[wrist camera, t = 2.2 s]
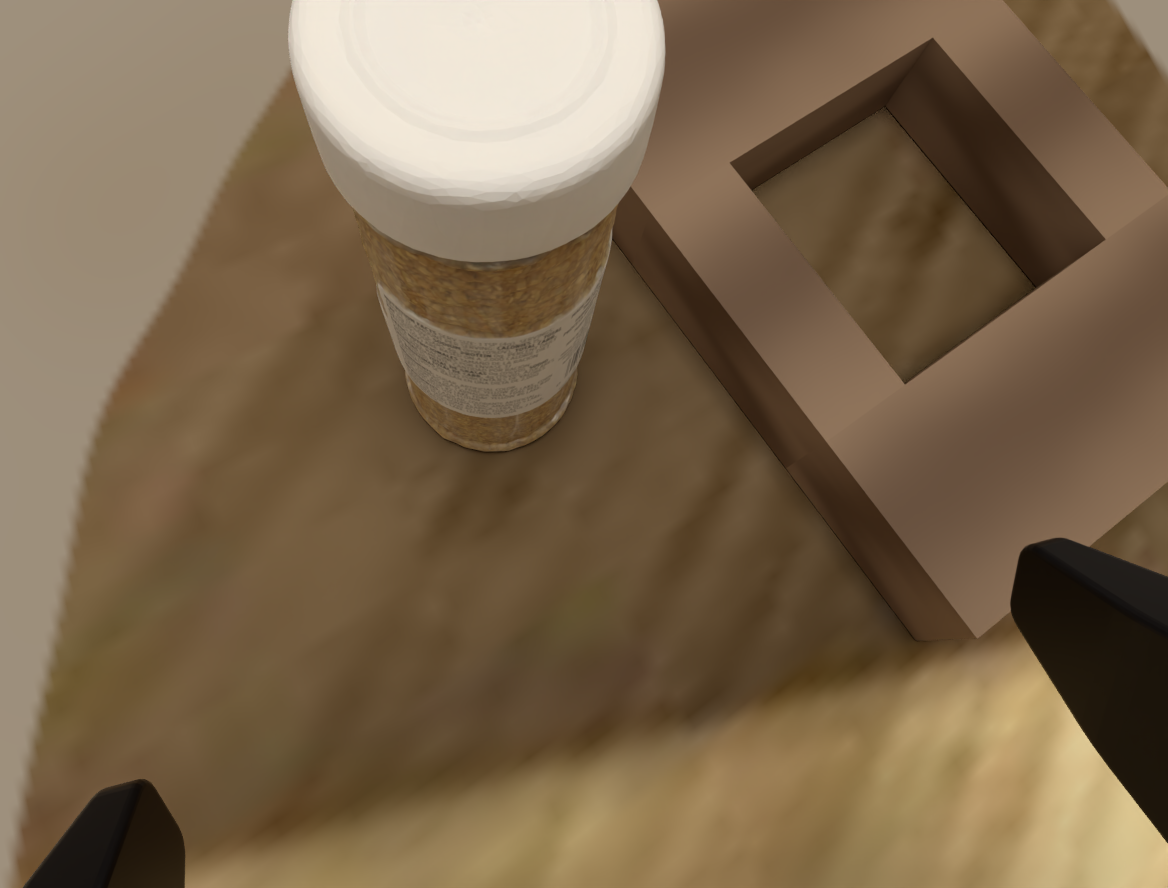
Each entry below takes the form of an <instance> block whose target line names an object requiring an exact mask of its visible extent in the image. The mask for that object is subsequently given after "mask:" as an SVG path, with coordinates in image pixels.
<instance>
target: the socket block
mask: <svg viewBox="0 0 1168 888" xmlns="http://www.w3.org/2000/svg"><path fill="white" fill-rule="evenodd" d="M657 1H658V4H659V7H660V10H661V16H662V19H663V25H664V32H665V68H664V76H663V81H662V87H661V91H660V96H659V100H658V105H657V109H656V114H655V118H654V123H653V127H652V130H651V134H650V137H649V141H648V145H647V148H646V152H645V155H644V158H643V160H642V163H641V166H640V168H639V171H638V174H637V176H636V178H635V179H634V181H633V183H632V185H631V186H630V188H629V190H628V191H627V193H626V194H625V195H624V197H623V198H622V199H621V200H620V202H619V203H618V206H617V210H616V216H615V221H614V224H613V227H612V238H613V240H614V241H615V242H616V244H617V245H618V246H619V248H620V249H621V250H622V252H623V253H624V254H625V256H626V257H627V258H628V260H629V261H630V262H631V264H632V265H633V266H634V268H635V269H636V270H637V272H638V273H639V274H640V276H641V277H642V278H643V280H644V281H645V282H646V284H647V285H648V286H649V288H650V289H651V290H652V292H653V293H654V294H655V295H656V297H657V298H658V299H659V301H660V302H661V303H662V305H663V306H664V307H665V309H666V310H667V311H668V313H669V314H670V315H671V317H672V318H673V319H674V321H675V322H676V323H677V325H678V326H679V327H680V329H681V330H682V331H683V333H684V334H685V335H686V337H687V338H688V339H689V341H690V342H691V343H692V345H693V346H694V347H695V349H696V350H697V351H698V353H699V354H700V355H701V356H702V358H703V359H704V360H705V362H706V363H707V364H708V366H709V367H710V368H711V370H712V371H713V372H714V374H715V375H716V376H717V378H718V379H719V380H720V382H721V383H722V384H723V386H724V387H725V388H726V390H727V391H728V392H729V394H730V395H731V396H732V398H733V399H734V400H735V402H736V403H737V404H738V406H739V407H740V408H741V410H742V411H743V412H744V414H745V415H746V416H747V417H748V419H749V420H750V421H751V423H752V424H753V425H754V427H755V428H756V429H757V431H758V432H759V433H760V435H761V436H762V437H763V439H764V440H765V441H766V443H767V444H768V445H769V447H770V448H771V449H772V451H773V452H774V453H775V455H776V456H777V457H778V459H779V460H780V461H781V463H782V464H783V465H784V467H785V468H786V469H787V471H788V472H789V473H790V475H791V476H792V477H793V478H794V480H795V481H796V482H797V484H798V485H799V486H800V488H801V489H802V490H803V492H804V493H805V494H806V496H807V497H808V498H809V500H810V501H811V502H812V504H813V505H814V506H815V508H816V509H817V510H818V512H819V513H820V514H821V516H822V517H823V518H824V520H825V521H826V522H827V524H828V525H829V526H830V528H831V529H832V530H833V532H834V533H835V534H836V536H837V537H838V538H839V539H840V541H841V542H842V543H843V545H844V546H845V547H846V549H847V550H848V551H849V553H850V554H851V555H852V557H853V558H854V559H855V561H856V562H857V563H858V565H859V566H860V567H861V569H862V570H863V571H864V573H865V574H866V575H867V577H868V578H869V579H870V581H871V582H872V583H873V585H874V586H875V587H876V589H877V590H878V591H879V593H880V594H881V595H882V596H883V598H884V599H885V600H886V602H887V603H888V604H889V606H890V607H891V608H892V610H893V611H894V612H895V614H896V615H897V616H898V618H899V619H900V620H901V622H902V623H903V624H904V626H905V627H906V628H907V630H908V631H909V632H910V634H911V635H912V636H913V638H914V639H915V640H916V641H928V640H955V639H978V638H979V637H980V636H981V635H982V634H984V633H985V632H986V631H987V630H988V629H990V628H991V627H992V626H993V625H994V624H996V623H997V622H998V621H999V620H1001V619H1002V618H1003V617H1004V616H1005V615H1007V614H1008V613H1009V612H1010V611H1011V607H1010V599H1011V593H1012V588H1013V583H1014V578H1015V573H1016V568H1017V563H1018V558H1019V555H1020V552H1021V551H1022V550H1023V548H1024V547H1025V546H1027V545H1029V544H1033V543H1036V542H1040V541H1044V540H1048V539H1052V538H1060V537H1061V538H1066V539H1070V540H1072V541H1075V542H1078V543H1080V544H1083V545H1086V546H1088V547H1089V546H1090V545H1091V544H1093V543H1094V542H1095V541H1096V540H1098V539H1099V538H1100V537H1101V536H1102V535H1104V534H1105V533H1106V532H1107V531H1108V530H1110V529H1111V528H1112V527H1113V526H1115V525H1116V524H1117V523H1118V522H1119V521H1121V520H1122V519H1123V518H1124V517H1125V516H1127V515H1128V514H1129V513H1130V512H1131V511H1133V510H1134V509H1135V508H1136V507H1138V506H1139V505H1140V504H1141V503H1142V502H1144V501H1145V500H1146V499H1147V498H1148V497H1150V496H1151V495H1152V494H1153V493H1155V492H1156V491H1157V490H1158V489H1159V488H1161V487H1162V486H1163V485H1164V484H1165V483H1167V482H1168V187H1167V186H1166V185H1165V184H1164V183H1163V182H1162V181H1161V180H1160V178H1159V177H1158V176H1157V175H1156V174H1155V173H1154V172H1153V170H1152V169H1151V168H1150V167H1149V166H1148V165H1147V164H1146V162H1145V161H1144V160H1143V159H1142V158H1141V157H1140V156H1139V155H1138V153H1137V152H1136V151H1135V150H1134V149H1133V148H1132V147H1131V145H1130V144H1129V143H1128V142H1127V141H1126V140H1125V139H1124V137H1123V136H1122V135H1121V134H1120V133H1119V132H1118V131H1117V130H1116V128H1115V127H1114V126H1113V125H1112V124H1111V123H1110V122H1109V120H1108V119H1107V118H1106V117H1105V116H1104V115H1103V114H1102V112H1101V111H1100V110H1099V109H1098V108H1097V107H1096V106H1095V105H1094V103H1093V102H1092V101H1091V100H1090V99H1089V98H1088V97H1087V95H1086V94H1085V93H1084V92H1083V91H1082V90H1081V89H1080V87H1079V86H1078V85H1077V84H1076V83H1075V82H1074V81H1073V80H1072V78H1071V77H1070V76H1069V75H1068V74H1067V73H1066V72H1065V70H1064V69H1063V68H1062V67H1061V66H1060V65H1059V64H1058V62H1057V61H1056V60H1055V59H1054V58H1053V57H1052V56H1051V55H1050V53H1049V52H1048V51H1047V50H1046V49H1045V48H1044V47H1043V45H1042V44H1041V43H1040V42H1039V41H1038V40H1037V39H1036V37H1035V36H1034V35H1033V34H1032V33H1031V32H1030V31H1029V30H1028V28H1027V27H1026V26H1025V25H1024V24H1023V23H1022V22H1021V20H1020V19H1019V18H1018V17H1017V16H1016V15H1015V14H1014V12H1013V11H1012V10H1011V9H1010V8H1009V7H1008V6H1007V5H1006V3H1005V2H1004V1H1003V0H657ZM884 106H886V107H887V109H888V110H889V111H890V112H891V113H892V115H893V116H894V117H895V118H896V119H897V121H898V122H899V123H900V124H901V125H902V127H903V128H904V129H905V130H906V131H907V133H908V134H909V135H910V136H911V137H912V139H913V140H914V141H915V142H916V143H917V145H918V146H919V147H920V148H921V149H922V151H923V152H924V153H925V154H926V155H927V157H928V158H929V159H930V160H931V161H932V163H933V164H934V165H935V166H936V167H937V169H938V170H939V171H940V172H941V173H942V175H943V176H944V177H945V178H946V179H947V181H948V182H949V183H950V184H951V185H952V187H953V188H954V189H955V190H956V191H957V193H958V194H959V195H960V196H961V197H962V199H963V200H964V201H965V202H966V203H967V205H968V206H969V207H970V208H971V209H972V211H973V212H974V213H975V214H976V215H977V217H978V218H979V219H980V220H981V221H982V222H983V224H984V225H985V226H986V227H987V228H988V230H989V231H990V232H991V233H992V234H993V236H994V237H995V238H996V239H997V240H998V242H999V243H1000V244H1001V245H1002V246H1003V248H1004V249H1005V250H1006V251H1007V252H1008V254H1009V255H1010V256H1011V257H1012V258H1013V260H1014V261H1015V262H1016V263H1017V264H1018V266H1019V267H1020V268H1021V269H1022V270H1023V272H1024V273H1025V274H1026V275H1027V276H1028V278H1029V279H1030V280H1031V281H1032V282H1033V284H1034V285H1035V286H1036V288H1035V289H1034V290H1032V291H1031V292H1029V293H1028V294H1027V295H1025V296H1024V297H1023V298H1021V299H1020V300H1018V301H1017V302H1016V303H1014V304H1013V305H1011V306H1010V307H1009V308H1007V309H1006V310H1005V311H1003V312H1002V313H1000V314H999V315H998V316H996V317H995V318H993V319H992V320H991V321H989V322H988V323H987V324H985V325H984V326H982V327H981V328H980V329H978V330H977V331H975V332H974V333H973V334H971V335H970V336H969V337H967V338H966V339H964V340H963V341H962V342H960V343H959V344H957V345H956V346H955V347H953V348H952V349H951V350H949V351H948V352H946V353H945V354H944V355H942V356H941V357H939V358H938V359H937V360H935V361H934V362H933V363H931V364H930V365H928V366H927V367H926V368H924V369H923V370H921V371H920V372H919V373H917V374H916V375H915V376H913V377H912V378H910V379H909V380H908V381H906V382H905V383H903V381H902V380H901V379H900V378H899V376H898V375H897V374H896V373H895V371H894V370H893V369H892V368H891V366H890V365H889V364H888V363H887V361H886V360H885V359H884V357H883V356H882V355H881V354H880V352H879V351H878V350H877V349H876V347H875V346H874V345H873V344H872V342H871V341H870V340H869V339H868V337H867V336H866V335H865V333H864V332H863V331H862V330H861V328H860V327H859V326H858V325H857V323H856V322H855V321H854V320H853V318H852V317H851V316H850V314H849V313H848V312H847V311H846V309H845V308H844V307H843V306H842V304H841V303H840V302H839V301H838V299H837V298H836V297H835V296H834V294H833V293H832V292H831V290H830V289H829V288H828V287H827V285H826V284H825V283H824V282H823V280H822V279H821V278H820V277H819V275H818V274H817V273H816V272H815V270H814V269H813V268H812V266H811V265H810V264H809V263H808V261H807V260H806V259H805V258H804V256H803V255H802V254H801V253H800V251H799V250H798V249H797V248H796V246H795V245H794V244H793V242H792V241H791V240H790V239H789V237H788V236H787V235H786V234H785V232H784V231H783V230H782V229H781V227H780V226H779V225H778V223H777V222H776V221H775V220H774V218H773V217H772V216H771V215H770V213H769V212H768V211H767V210H766V208H765V207H764V206H763V205H762V203H761V202H760V201H759V199H758V198H757V197H756V196H755V194H754V193H753V192H752V191H751V190H752V189H754V188H755V187H757V186H759V185H760V184H762V183H763V182H765V181H767V180H768V179H770V178H771V177H773V176H774V175H776V174H778V173H779V172H781V171H782V170H784V169H786V168H787V167H789V166H790V165H792V164H794V163H795V162H797V161H798V160H800V159H802V158H803V157H805V156H806V155H808V154H809V153H811V152H813V151H814V150H816V149H817V148H819V147H821V146H822V145H824V144H825V143H827V142H829V141H830V140H832V139H833V138H835V137H837V136H838V135H840V134H841V133H843V132H845V131H846V130H848V129H849V128H851V127H852V126H854V125H856V124H857V123H859V122H860V121H862V120H864V119H865V118H867V117H868V116H870V115H872V114H873V113H875V112H876V111H878V110H880V109H881V108H883V107H884Z"/></svg>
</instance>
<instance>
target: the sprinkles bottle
mask: <svg viewBox="0 0 1168 888" xmlns="http://www.w3.org/2000/svg"><path fill="white" fill-rule="evenodd" d="M288 46H289V55H290V61H291V67H292V72H293V77H294V80H295V83H296V87H297V90H298V93H299V96H300V99H301V102H302V105H303V108H304V111H305V114H306V117H307V120H308V123H309V126H310V129H311V132H312V135H313V137H314V140H315V143H316V145H317V148H318V151H319V154H320V156H321V159H322V161H323V164H324V166H325V168H326V170H327V172H328V174H329V176H330V178H331V179H332V181H333V183H334V184H335V186H336V187H337V189H338V190H339V191H340V193H341V194H342V195H343V197H344V198H345V200H346V201H347V202H348V203H349V204H350V205H351V206H352V207H353V211H354V215H355V218H356V221H357V224H358V228H359V231H360V234H361V240H362V244H363V246H364V248H365V252H366V254H367V256H368V259H369V262H370V265H371V269H372V273H373V276H374V279H375V282H376V287H377V295H378V299H379V302H380V306H381V309H382V312H383V314H384V317H385V320H386V323H387V326H388V329H389V331H390V334H391V337H392V340H393V343H394V346H395V349H396V352H397V354H398V357H399V359H400V362H401V364H402V365H403V367H404V369H405V378H406V383H407V386H408V389H409V392H410V396H411V399H412V401H413V403H414V404H415V406H416V408H417V410H418V412H419V413H420V414H421V416H422V417H423V418H424V420H425V421H426V422H427V423H428V424H429V425H430V426H431V427H432V428H433V429H434V430H435V431H436V432H437V433H438V434H439V435H441V436H442V437H443V438H444V439H447V440H449V441H452V442H455V443H457V444H459V445H461V446H463V447H466V448H470V449H475V450H480V451H484V452H487V451H510V450H512V449H514V448H517V447H521V446H524V445H527V444H529V443H531V442H533V441H534V440H536V439H538V438H539V437H541V436H543V435H544V434H545V433H546V432H547V431H548V430H550V429H551V428H552V427H553V426H554V425H555V424H556V423H557V422H558V421H559V420H560V418H561V417H562V416H563V414H564V413H565V411H566V409H567V406H568V404H569V402H570V401H571V399H572V396H573V391H574V389H575V386H576V382H577V374H578V370H577V365H578V363H579V361H580V359H581V356H582V353H583V350H584V346H585V343H586V339H587V335H588V332H589V328H590V324H591V320H592V316H593V312H594V308H595V304H596V301H597V297H598V293H599V289H600V286H601V282H602V278H603V275H604V271H605V268H606V264H607V261H608V257H609V253H610V247H611V241H612V227H613V224H614V221H615V216H616V210H617V206H618V203H619V202H620V200H621V199H622V198H623V197H624V195H625V194H626V193H627V191H628V190H629V188H630V186H631V185H632V183H633V181H634V179H635V178H636V176H637V174H638V171H639V168H640V166H641V163H642V160H643V158H644V155H645V152H646V148H647V145H648V141H649V137H650V134H651V130H652V127H653V123H654V118H655V114H656V109H657V105H658V100H659V96H660V91H661V87H662V81H663V76H664V68H665V32H664V25H663V19H662V16H661V10H660V7H659V4H658V1H657V0H292V6H291V11H290V16H289V28H288Z"/></svg>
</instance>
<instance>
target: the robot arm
mask: <svg viewBox="0 0 1168 888" xmlns="http://www.w3.org/2000/svg"><path fill="white" fill-rule="evenodd" d="M1010 607H1011V613H1012V616H1013V619H1014V621H1015V623H1016V625H1017V627H1018V629H1019V630H1020V632H1021V633H1022V635H1023V637H1024V638H1025V640H1026V641H1027V643H1028V645H1029V646H1030V648H1031V649H1032V651H1033V652H1034V654H1035V656H1036V657H1037V659H1038V660H1039V662H1040V664H1041V665H1042V667H1043V668H1044V670H1045V672H1046V673H1047V675H1048V676H1049V678H1050V680H1051V681H1052V683H1053V684H1054V686H1055V687H1056V689H1057V691H1058V692H1059V694H1060V695H1061V697H1062V699H1063V700H1064V702H1065V703H1066V705H1067V707H1068V708H1069V710H1070V711H1071V713H1072V714H1073V716H1074V718H1075V719H1076V721H1077V722H1078V724H1079V726H1080V727H1081V729H1082V730H1083V732H1084V733H1085V735H1086V736H1087V738H1088V739H1089V741H1090V742H1091V743H1092V745H1093V746H1094V748H1095V749H1096V751H1097V752H1098V753H1099V755H1100V756H1101V757H1102V759H1103V760H1104V761H1105V763H1106V764H1107V765H1108V767H1109V768H1110V769H1111V771H1112V772H1113V773H1114V775H1115V776H1116V777H1117V778H1118V780H1119V781H1120V782H1121V784H1122V785H1123V786H1124V787H1125V789H1126V790H1127V791H1128V793H1129V794H1130V795H1131V796H1132V798H1133V799H1134V800H1135V802H1136V803H1137V804H1138V806H1139V807H1140V808H1141V809H1142V811H1143V812H1144V813H1145V815H1146V816H1147V817H1148V818H1149V820H1150V821H1151V822H1152V824H1153V825H1154V826H1155V827H1156V829H1157V830H1158V831H1159V833H1160V834H1161V835H1162V837H1163V838H1164V839H1165V840H1166V842H1167V843H1168V577H1167V576H1164V575H1161V574H1159V573H1156V572H1154V571H1151V570H1148V569H1146V568H1143V567H1141V566H1138V565H1135V564H1133V563H1130V562H1127V561H1125V560H1122V559H1120V558H1117V557H1114V556H1112V555H1109V554H1106V553H1104V552H1101V551H1099V550H1096V549H1093V548H1091V547H1088V546H1086V545H1083V544H1080V543H1078V542H1075V541H1072V540H1070V539H1066V538H1061V537H1060V538H1052V539H1048V540H1044V541H1040V542H1036V543H1033V544H1029V545H1027V546H1025V547H1024V548H1023V550H1022V551H1021V552H1020V555H1019V558H1018V563H1017V568H1016V573H1015V578H1014V583H1013V588H1012V593H1011V599H1010ZM23 888H185V846H184V840H183V836H182V833H181V831H180V828H179V826H178V825H177V823H176V821H175V820H174V818H173V817H172V815H171V813H170V812H169V810H168V808H167V807H166V805H165V803H164V802H163V800H162V798H161V797H160V795H159V793H158V792H157V790H156V789H155V787H154V786H153V785H152V783H151V782H149V781H147V780H145V779H138V780H134V781H130V782H126V783H123V784H119V785H115V786H111V787H108V788H105V789H102V790H101V791H99V792H98V793H97V794H96V795H94V796H93V798H92V799H91V800H90V801H89V802H88V804H87V805H86V806H85V808H84V809H83V810H82V811H81V813H80V814H79V815H78V817H77V818H76V819H75V821H74V822H73V823H72V824H71V826H70V827H69V828H68V830H67V831H66V832H65V833H64V835H63V836H62V837H61V839H60V840H59V841H58V843H57V844H56V845H55V846H54V848H53V849H52V850H51V852H50V853H49V854H48V855H47V857H46V858H45V859H44V861H43V862H42V863H41V865H40V866H39V867H38V868H37V870H36V871H35V872H34V874H33V875H32V876H31V877H30V879H29V880H28V881H27V883H26V884H25V885H24V887H23Z"/></svg>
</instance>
